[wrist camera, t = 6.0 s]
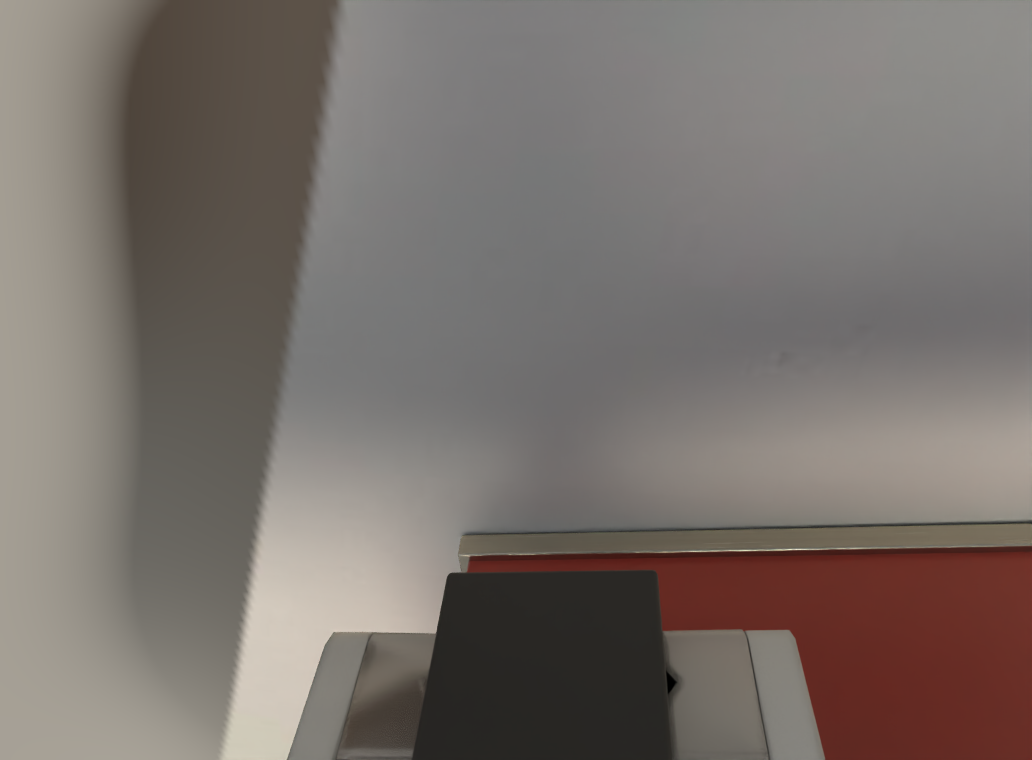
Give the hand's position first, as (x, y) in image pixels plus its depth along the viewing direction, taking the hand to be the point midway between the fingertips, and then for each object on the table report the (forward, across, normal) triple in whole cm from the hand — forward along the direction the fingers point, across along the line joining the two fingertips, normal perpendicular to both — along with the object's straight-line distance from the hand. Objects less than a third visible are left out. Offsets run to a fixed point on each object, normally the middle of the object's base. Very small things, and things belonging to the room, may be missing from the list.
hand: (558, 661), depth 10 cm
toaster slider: (0, 0, +1) cm, 1 cm away
